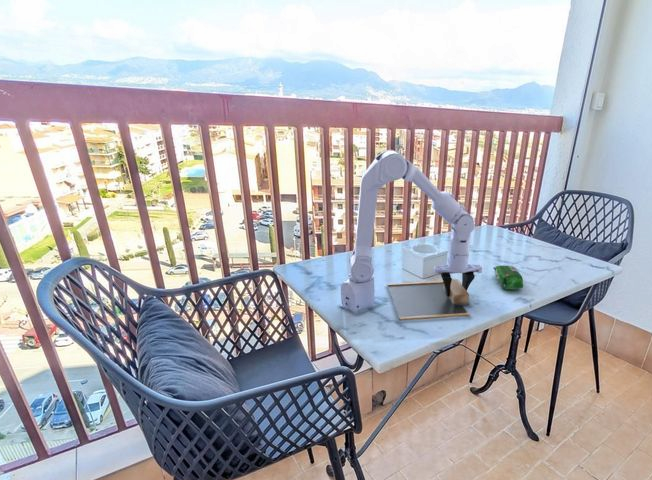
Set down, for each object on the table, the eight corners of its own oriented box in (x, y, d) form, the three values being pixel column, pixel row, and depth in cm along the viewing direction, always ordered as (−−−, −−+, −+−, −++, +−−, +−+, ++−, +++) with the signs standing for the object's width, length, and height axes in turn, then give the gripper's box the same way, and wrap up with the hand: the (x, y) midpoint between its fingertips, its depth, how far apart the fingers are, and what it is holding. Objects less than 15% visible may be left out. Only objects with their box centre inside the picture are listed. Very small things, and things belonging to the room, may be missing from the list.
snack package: (511, 275, 143) (513, 261, 140) (524, 293, 129) (526, 278, 126) (491, 275, 142) (493, 261, 140) (502, 293, 129) (504, 278, 126)
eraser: (453, 306, 118) (454, 295, 116) (443, 289, 128) (443, 279, 126) (468, 305, 118) (469, 294, 117) (456, 288, 129) (457, 278, 127)
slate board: (399, 322, 110) (399, 318, 109) (387, 287, 131) (387, 283, 131) (469, 318, 113) (469, 314, 112) (446, 284, 134) (446, 280, 134)
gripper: (478, 247, 121) (473, 288, 127) (431, 249, 119) (429, 290, 125) (486, 255, 115) (481, 297, 121) (437, 257, 113) (435, 300, 119)
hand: (455, 294), depth 123 cm, fingers closed on eraser, 4 cm apart
